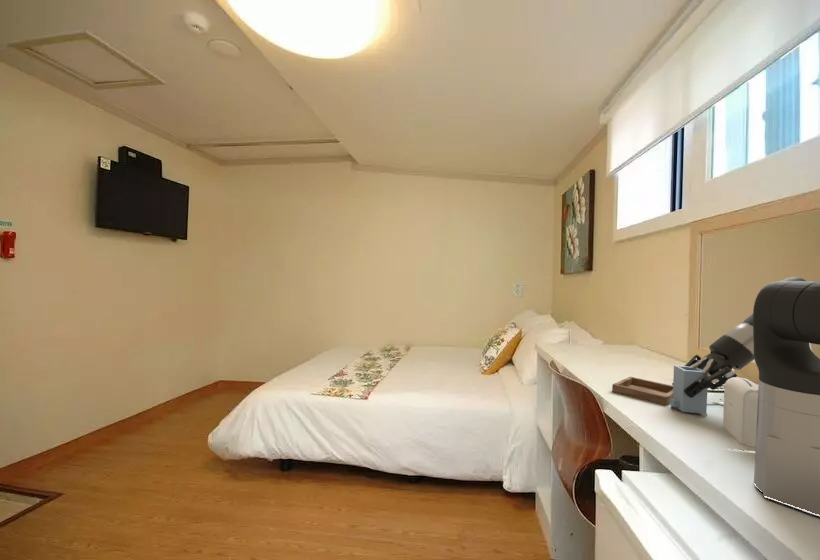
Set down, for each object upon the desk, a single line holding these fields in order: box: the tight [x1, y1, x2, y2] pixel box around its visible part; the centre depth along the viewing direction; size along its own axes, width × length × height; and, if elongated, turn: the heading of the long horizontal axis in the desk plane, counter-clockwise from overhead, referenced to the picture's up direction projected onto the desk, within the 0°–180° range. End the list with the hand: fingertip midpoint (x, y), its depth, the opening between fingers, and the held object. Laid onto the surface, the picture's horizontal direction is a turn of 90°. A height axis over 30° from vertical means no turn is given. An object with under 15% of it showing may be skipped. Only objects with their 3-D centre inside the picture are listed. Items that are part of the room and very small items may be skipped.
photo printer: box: [722, 376, 759, 448], centre depth 76 cm, size 10×4×12 cm, turn 157°
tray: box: [612, 376, 673, 407], centre depth 102 cm, size 13×13×2 cm
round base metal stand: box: [670, 405, 708, 417], centre depth 90 cm, size 7×7×6 cm
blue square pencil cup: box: [669, 365, 708, 414], centre depth 90 cm, size 5×6×10 cm
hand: (681, 390), depth 90 cm, fingers closed on blue square pencil cup, 5 cm apart
